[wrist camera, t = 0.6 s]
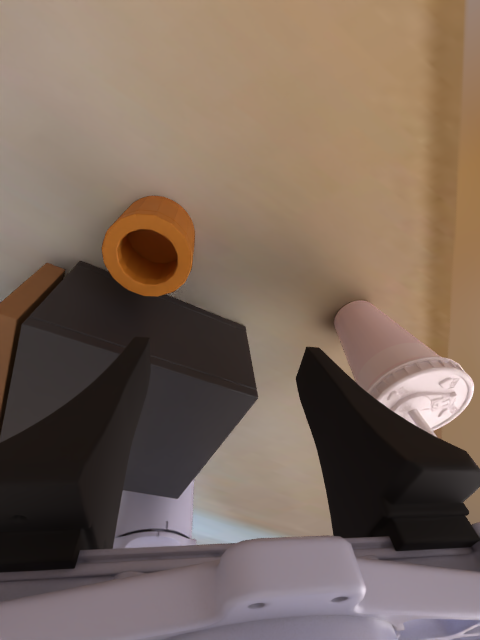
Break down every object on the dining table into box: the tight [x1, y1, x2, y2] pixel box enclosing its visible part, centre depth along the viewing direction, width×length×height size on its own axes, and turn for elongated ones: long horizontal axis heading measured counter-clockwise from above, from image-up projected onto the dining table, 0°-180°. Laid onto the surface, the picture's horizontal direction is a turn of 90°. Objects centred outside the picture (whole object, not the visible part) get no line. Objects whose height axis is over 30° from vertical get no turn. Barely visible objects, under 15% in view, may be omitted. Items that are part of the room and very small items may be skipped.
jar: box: [102, 196, 195, 297], centre depth 18 cm, size 5×5×5 cm
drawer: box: [0, 263, 65, 436], centre depth 21 cm, size 17×12×6 cm
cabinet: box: [0, 261, 258, 499], centre depth 23 cm, size 13×13×8 cm
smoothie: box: [334, 300, 474, 438], centre depth 20 cm, size 6×6×14 cm
